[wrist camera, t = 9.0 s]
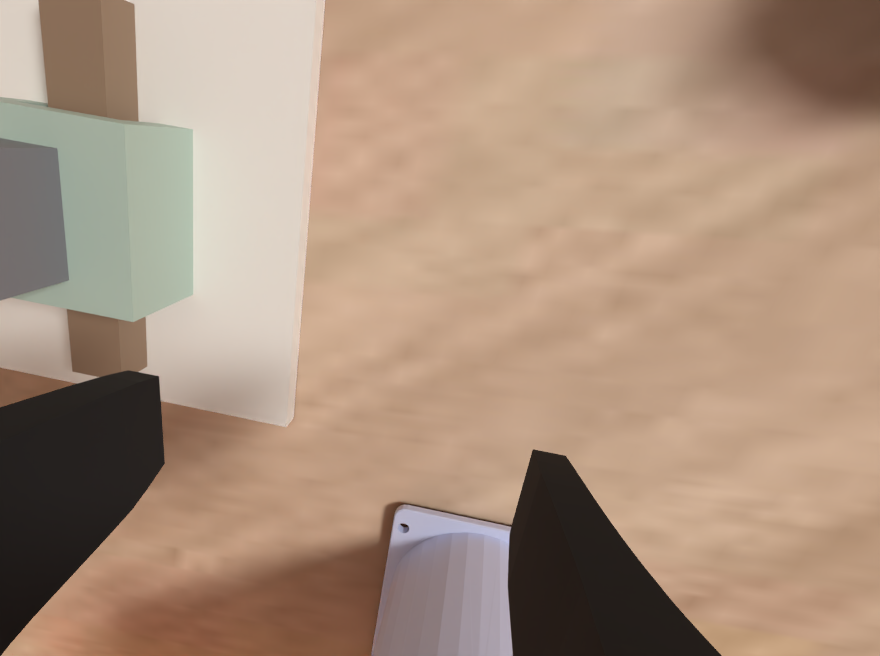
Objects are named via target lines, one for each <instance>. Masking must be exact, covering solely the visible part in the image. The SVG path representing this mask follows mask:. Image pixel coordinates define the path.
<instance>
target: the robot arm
mask: <svg viewBox="0 0 880 656" xmlns="http://www.w3.org/2000/svg"><path fill="white" fill-rule="evenodd" d="M164 464H165V462H164V446H163V431H162V415H161V399H160V383H159V376H155V375H150V374H145V373H140V372H135V371H130V370H127V371H123V372H118V373H114V374H110V375H106V376H102V377H99V378H95V379H92V380H88V381H85V382H81V383H78V384H75V385H71V386H68V387H65V388H62V389H59V390H55V391H52V392H49V393H46V394H42V395H39V396H36V397H33V398H30V399H26V400H23V401H20V402H17V403H14V404H10V405H7V406H4V407H1V408H0V656H1V655H2V653H3V652H4V651H5V650H6V648H7V647H8V646H9V645H10V643H11V642H12V641H13V640H14V639H15V638H16V636H17V635H18V634H19V633H20V632H21V631H22V630H23V628H24V627H25V626H26V625H27V624H28V623H29V621H30V620H31V619H32V618H33V617H34V616H35V615H36V614H37V613H38V611H39V610H40V609H41V608H42V607H43V606H44V605H45V604H46V603H47V602H48V601H49V600H50V598H51V597H52V596H53V595H54V594H55V593H56V592H57V591H58V590H59V589H60V588H61V587H62V586H63V584H64V583H65V582H66V581H67V580H68V579H69V578H70V577H71V576H72V575H73V574H74V573H75V571H76V570H77V569H78V568H79V567H80V566H81V565H82V564H83V563H84V562H85V561H86V560H87V559H88V557H89V556H90V555H91V554H92V553H93V552H94V551H95V550H96V549H97V548H98V547H99V546H100V544H101V543H102V542H103V541H104V540H105V539H106V538H107V537H108V536H109V535H110V533H111V532H112V531H113V530H114V529H115V528H116V527H117V526H118V525H119V524H120V522H121V521H122V520H123V519H124V518H125V517H126V516H127V515H128V513H129V512H130V511H131V510H132V509H133V508H134V506H135V505H136V503H137V502H138V501H139V499H140V498H141V497H142V495H143V494H144V493H145V491H146V490H147V489H148V487H149V486H150V484H151V483H152V481H153V480H154V478H155V477H156V475H157V474H158V472H159V471H160V469H161V468H162V466H163V465H164ZM401 523H404V524H407V525H408V527H403V526H401V525H400V524H401ZM371 656H721V655H720V654H719V653H718V651H717V650H716V649H715V648H714V647H713V646H712V645H711V644H710V643H709V642H708V641H707V640H706V638H705V637H704V636H703V635H702V634H701V633H700V632H699V631H698V630H697V629H696V628H695V627H694V625H693V624H692V623H691V622H690V621H689V620H688V619H687V618H686V617H685V615H684V614H683V613H682V612H681V611H680V610H679V609H678V607H677V606H676V605H675V604H674V603H673V602H672V600H671V599H670V598H669V597H668V596H667V594H666V593H665V592H664V591H663V590H662V588H661V587H660V586H659V585H658V583H657V582H656V581H655V580H654V578H653V577H652V576H651V575H650V574H649V572H648V571H647V570H646V569H645V567H644V566H643V565H642V564H641V562H640V561H639V560H638V558H637V557H636V556H635V554H634V553H633V552H632V551H631V549H630V548H629V547H628V545H627V544H626V543H625V541H624V540H623V539H622V537H621V536H620V534H619V533H618V532H617V530H616V529H615V528H614V526H613V525H612V523H611V522H610V521H609V519H608V518H607V516H606V515H605V513H604V512H603V511H602V509H601V508H600V506H599V505H598V503H597V502H596V500H595V499H594V497H593V496H592V494H591V493H590V491H589V490H588V488H587V487H586V485H585V484H584V482H583V481H582V479H581V478H580V476H579V475H578V473H577V472H576V470H575V469H574V467H573V466H572V464H571V463H570V462H569V460H568V459H567V457H566V456H563V455H558V454H553V453H548V452H543V451H538V450H533V451H532V455H531V458H530V462H529V466H528V469H527V473H526V476H525V480H524V483H523V487H522V491H521V494H520V498H519V501H518V505H517V508H516V512H515V516H514V519H513V523H512V526H511V527H510V526H505V525H500V524H496V523H491V522H486V521H482V520H477V519H472V518H468V517H463V516H458V515H454V514H449V513H444V512H440V511H435V510H430V509H425V508H421V507H416V506H411V505H401V506H399V507H398V508H397V509H396V511H395V515H394V520H393V526H392V532H391V538H390V544H389V550H388V556H387V562H386V568H385V574H384V580H383V586H382V592H381V598H380V604H379V610H378V616H377V622H376V628H375V634H374V641H373V647H372V653H371Z"/></svg>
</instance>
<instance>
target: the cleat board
mask: <svg viewBox="0 0 880 656" xmlns="http://www.w3.org/2000/svg"><path fill="white" fill-rule="evenodd" d="M324 10H325V0H0V97H5V98H14V99H23V100H31V101H37V102H42V103H48V107H51V108H56V109H62V110H68V111H73V112H79V113H84V114H90V115H96V116H101V117H107V118H112V119H118V120H126V121H138V122H149V123H160V124H166V125H171V126H177V127H183V128H188V129H193V295H191V296H189V297H187V298H185V299H182V300H180V301H178V302H176V303H174V304H172V305H169V306H167V307H165V308H163V309H161V310H159V311H156V312H154V313H152V314H150V315H148V316H146V317H143V318H141V319H139V320H137V321H135V322H130V321H125V320H120V319H115V318H110V317H105V316H100V315H95V314H90V313H85V312H80V311H75V310H70V309H65V308H60V307H55V306H50V305H45V304H40V303H35V302H30V301H25V300H20V299H15V298H7V299H4V300H1V301H0V368H5V369H9V370H14V371H19V372H24V373H29V374H33V375H38V376H43V377H48V378H53V379H57V380H62V381H67V382H72V383H77V384H78V383H81V382H85V381H88V380H92V379H95V378H99V377H102V376H106V375H110V374H114V373H118V372H123V371H127V370H130V371H135V372H140V373H145V374H150V375H155V376H159V383H160V399H161V401H163V402H168V403H173V404H177V405H182V406H187V407H192V408H197V409H201V410H206V411H211V412H216V413H221V414H225V415H230V416H235V417H240V418H245V419H249V420H254V421H259V422H264V423H269V424H273V425H278V426H283V427H287V426H288V424H289V423H290V422H291V421H292V419H293V418H294V407H295V394H296V381H297V368H298V354H299V341H300V328H301V315H302V301H303V288H304V275H305V262H306V248H307V235H308V222H309V209H310V195H311V182H312V169H313V156H314V143H315V129H316V116H317V103H318V90H319V76H320V63H321V50H322V37H323V23H324Z"/></svg>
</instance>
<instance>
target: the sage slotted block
mask: <svg viewBox="0 0 880 656" xmlns="http://www.w3.org/2000/svg"><path fill="white" fill-rule="evenodd" d="M191 295H193V129H188V128H183V127H177V126H171V125H166V124H160V123H149V122H138V121H126V120H118V119H112V118H107V117H101V116H96V115H90V114H84V113H79V112H73V111H68V110H62V109H56V108H51V107H48V103H42V102H37V101H31V100H23V99H14V98H5V97H0V301H1V300H4V299H7V298H15V299H20V300H25V301H30V302H35V303H40V304H45V305H50V306H55V307H60V308H65V309H70V310H75V311H80V312H85V313H90V314H95V315H100V316H105V317H110V318H115V319H120V320H125V321H130V322H135V321H137V320H139V319H141V318H143V317H146V316H148V315H150V314H152V313H154V312H156V311H159V310H161V309H163V308H165V307H167V306H169V305H172V304H174V303H176V302H178V301H180V300H182V299H185V298H187V297H189V296H191Z"/></svg>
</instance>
